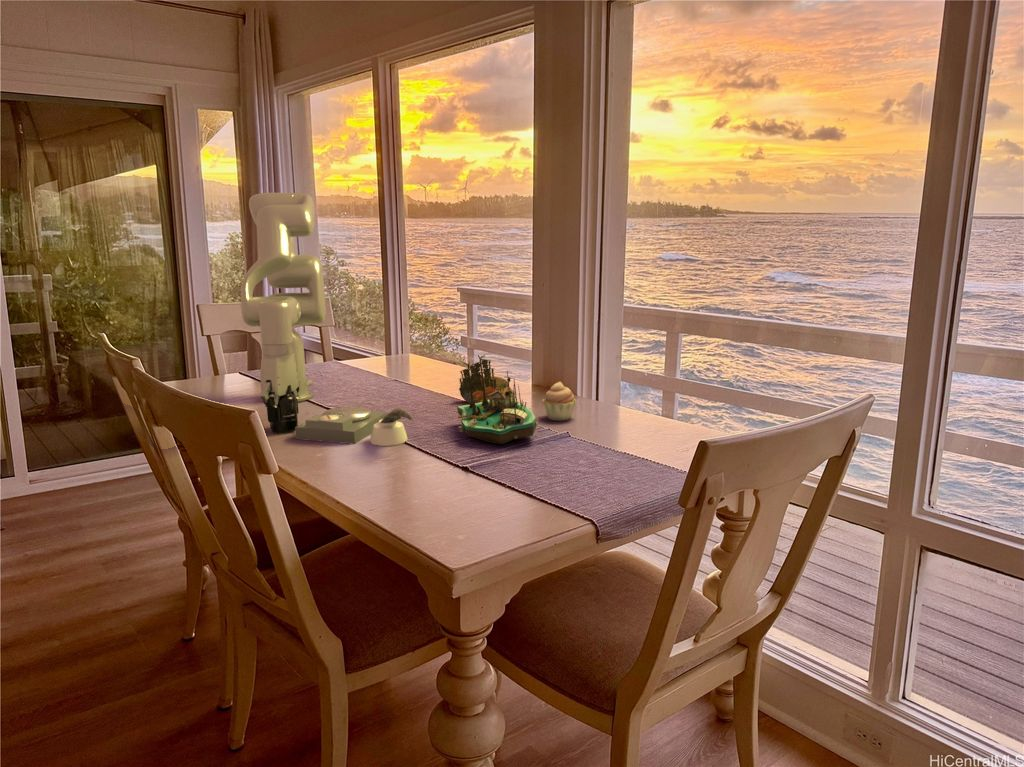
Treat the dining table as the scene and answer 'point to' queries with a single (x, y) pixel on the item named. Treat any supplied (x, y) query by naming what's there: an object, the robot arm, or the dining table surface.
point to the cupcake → (559, 402)
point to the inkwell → (390, 429)
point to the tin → (479, 394)
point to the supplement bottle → (286, 413)
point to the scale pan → (350, 412)
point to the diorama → (493, 408)
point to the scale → (337, 428)
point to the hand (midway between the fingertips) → (283, 417)
